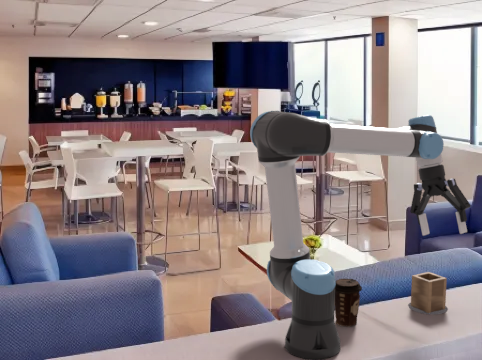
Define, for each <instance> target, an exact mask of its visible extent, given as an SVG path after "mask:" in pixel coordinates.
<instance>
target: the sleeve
mask: <svg viewBox="0 0 482 360" xmlns="http://www.w3.org/2000/svg"><path fill="white" fill-rule="evenodd" d="M447 283H448V282H447V277H444V276H441V275H440V274H436V273H434V272H430V271H426V272H422V273H418V274H413V275H411V286H410V287H411V290H410V291H411V292H410V294H411V295H410V303H411V306H413V307H415V308H418V309H420V310H422V311H425V312H427V313H430V312H434V311H438V310H442V309H445V306H446V303H447V301H446V300H447Z"/></svg>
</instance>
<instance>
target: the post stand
mask: <svg viewBox="0 0 482 360" xmlns="http://www.w3.org/2000/svg"><path fill="white" fill-rule="evenodd" d="M407 306H408V308H409V309H410V310H411V311H414V312H416V313H418V314H419V313H420V314H425V315H441V314H445V313H446V312H448V310H449V308H448V307H447V305H445V309H442V310H438V311H434V312H430V313H427V312H425V311H422V310H420V309H418V308H415V307H413V306H411V302H409V303H408V305H407Z"/></svg>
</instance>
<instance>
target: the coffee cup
mask: <svg viewBox="0 0 482 360" xmlns="http://www.w3.org/2000/svg"><path fill="white" fill-rule="evenodd" d="M335 281H336V285H335V308H334V318H335V324H336V323H337V324H338V325H337V324H336V325H337V326H340V325H341V327H353V326H356V325H357V323H358V315H359V314H358V313H359V307H360V299H361V294H360V292H361V291H362V290H363V287H362V286H361V284H360V283H359V282H358V281H357V279H353V278H339V279H337V280H336V279H335Z"/></svg>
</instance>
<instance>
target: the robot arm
mask: <svg viewBox="0 0 482 360" xmlns="http://www.w3.org/2000/svg"><path fill="white" fill-rule="evenodd" d="M407 124H408V125H405V126H399V127H394V128H389V127H378V126H377V127H375V126H363V125H362V126H361V125H350V124H339V123H338V124H337V123H336V124H335V123H330V122H329V121H328V120H327V119H324V118H323V119H322V118H314V117H310V116H306V115H303V114H302V115H301V114H298V113H296V112H285V111H280V110H271V111H265V112H263V113H260V114H259V115H258V116H257V117H256V118H255V119H254V120H253V122H252V124H251V127H250V131H249V134H250V140H251V142H252V144H253V146H254V147H255V148H256V149H257V157H258V163H259V164H261V165H262V166H263V167H264V170H265V182H266V189H267V197H268V205H269V206H268V207H269V215H270V223H271V231H272V238H273V239H272V240H273V241H272V242H273V248H272V249H270V250H269V261H267V264H266V265H267V266H266V274H267V276H266V277H267V279H268V280H269V282H270V283H271V285H272V286H273V287H274V288H275V290H276V291H278V292H279V293H282V295H284V296H285V297H286V298H287V299H289V300H290V301H291V320H290V324H289V327H288V329H287V332H286V335H285V339H284V348H285V350H286V352H288V354H291V355H293V356H295V357H298V358H302V359H306V360H322V359H329V358H332V357H334V356H336V355H338V354H339V353H340V352H341V339H340V335H339V332H338V330H337V326H336V321H335V285H336V274H335V270H334V268H333V267H332V266H331V265H330V264H329V263H326V262H324V261H319V260H318V259H311V254H310V253H311V252H310V248H309V246H307V245H306V244H305V243H304V238H303V237H304V236H303V235H304V234H303V226H302V218H301V217H302V216H301V210H300V209H301V208H300V200H299V198H300V197H299V190H298V181H297V168H296V163H297V161H298V160H299V159H300V157H302V156H303V157H305V156H306V157H307V156H309V157H312V156H313V157H314V156H316V157H317V156H318V157H321V156H326V155H327V153H333V154H334V153H335V154H350V155H352V154H353V155H354V154H355V155H368V156H369V155H370V156H371V155H372V156H389V157H404V158H405V157H406V158H415V161H416V167H418V170H417V171H418V176H419V179H420V181H421V182H417V183H415V184H413V194H412V195H413V196H412V201H411V207H410V213H411V214H415V216H416V218H417V223H418V225H419V226H420V229H421V235H422V236H427V235H429V234H431V233H430V227H429V223H428V218H427V213H425V210H426V207H427V205H428V203H429V201H430V199H431V197H435V196H436V197H437V196H441V197H443V198H444V200H446V201H447V202H448V203H449V204H450V205H451V206H452V207H453V208H455V210H456V212H455V216H456V223H457V226H458V231H459V234H460V235H462V234H463V235H464V233H465V234H466V233H468V229H467V228H468V227H467V225H466V224H467V223H466V222H467V221H468V218H467V213H466V210H467V209H470V208H471V206H472V205H471V203H470V202H469V201H468V199H467V198H466V196H465V195H464V193H463V192H462V190H461V189H460V187H459V186H458V184H457V180H456V178H454V177H453V178H449V179H446V171H445V167H444V165H443V164H442V163H443V157H442V153H443V151H444V140H443V138H442V136H441V134H439V133H438V131H437V126H436V122H435V119H434V116H432V115H431V114H426V115H421V116H417V117H412V118H409V119H408V123H407ZM447 187H448V188H447Z"/></svg>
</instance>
